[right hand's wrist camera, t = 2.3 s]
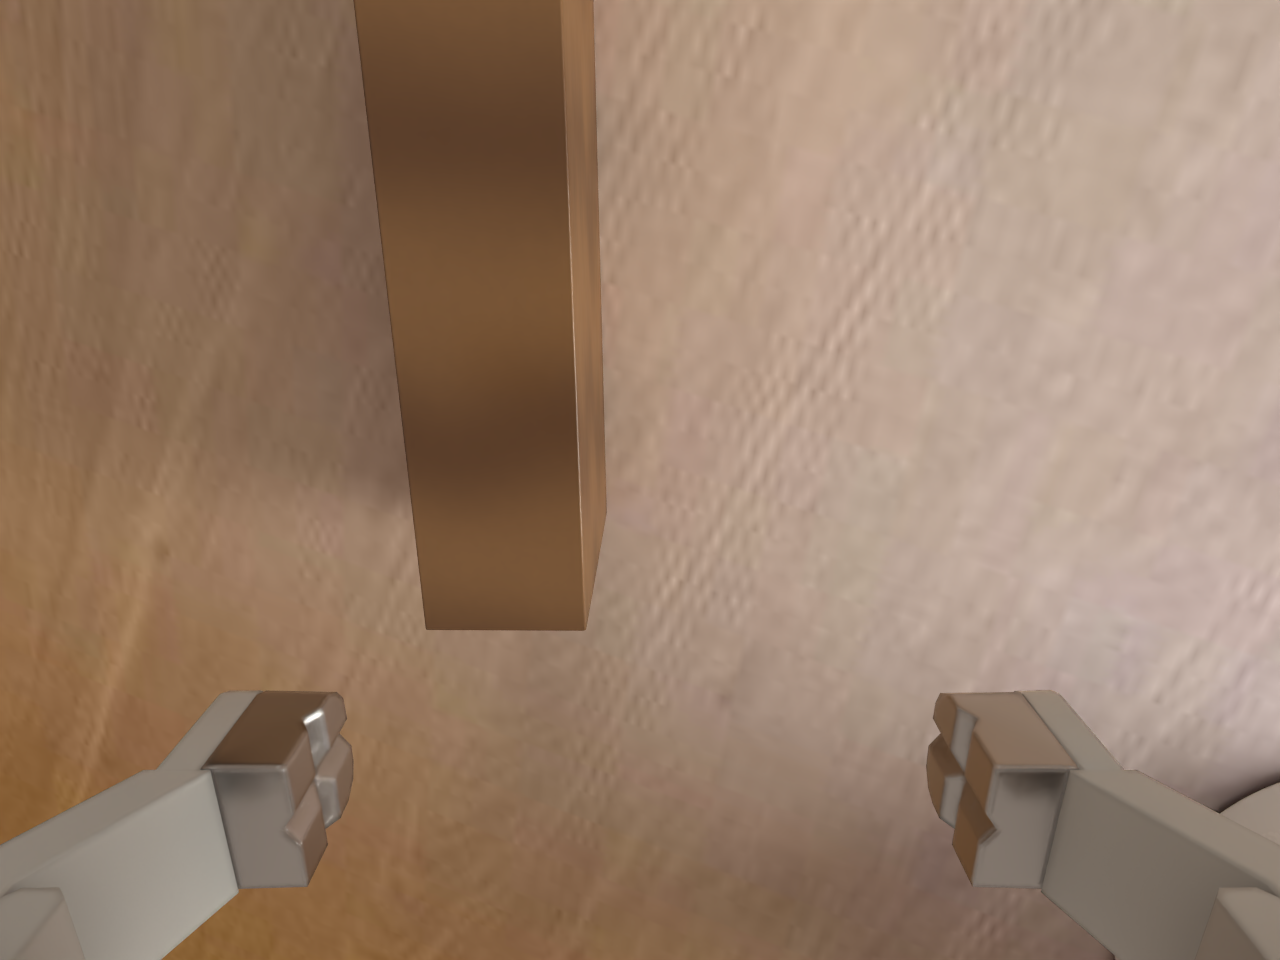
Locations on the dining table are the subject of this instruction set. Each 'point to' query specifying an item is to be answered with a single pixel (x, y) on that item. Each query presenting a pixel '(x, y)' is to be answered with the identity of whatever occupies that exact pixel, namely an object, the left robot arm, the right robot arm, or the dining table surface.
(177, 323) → the dining table surface
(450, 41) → the bar
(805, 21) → the dining table surface
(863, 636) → the dining table surface
